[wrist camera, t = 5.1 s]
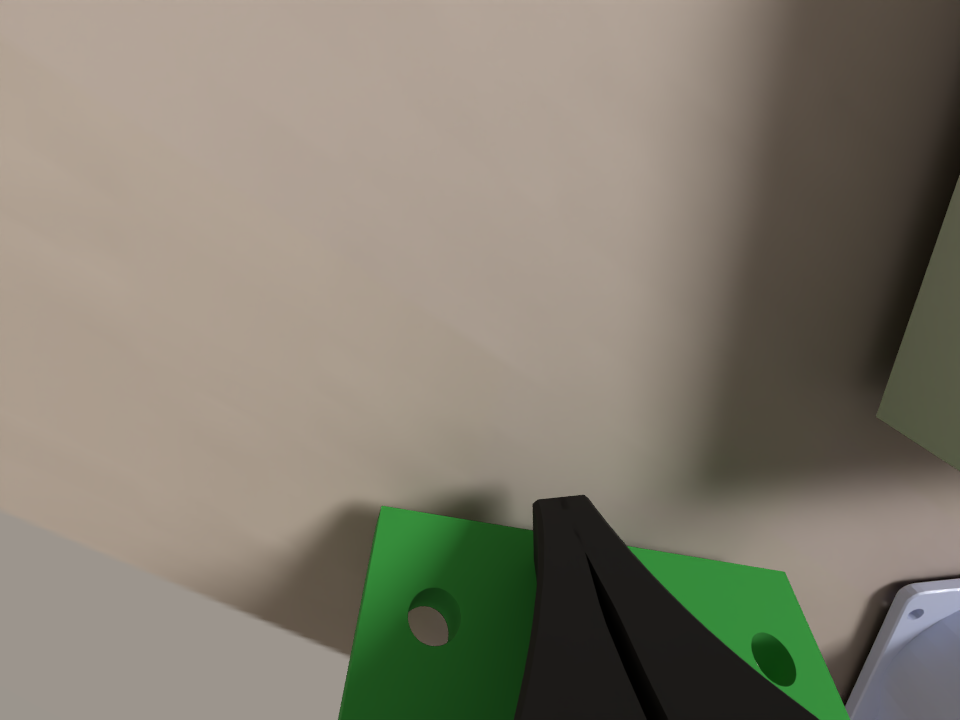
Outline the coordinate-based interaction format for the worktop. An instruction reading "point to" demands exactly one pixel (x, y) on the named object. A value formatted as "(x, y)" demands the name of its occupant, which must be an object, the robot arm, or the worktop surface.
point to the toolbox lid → (931, 353)
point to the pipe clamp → (509, 615)
